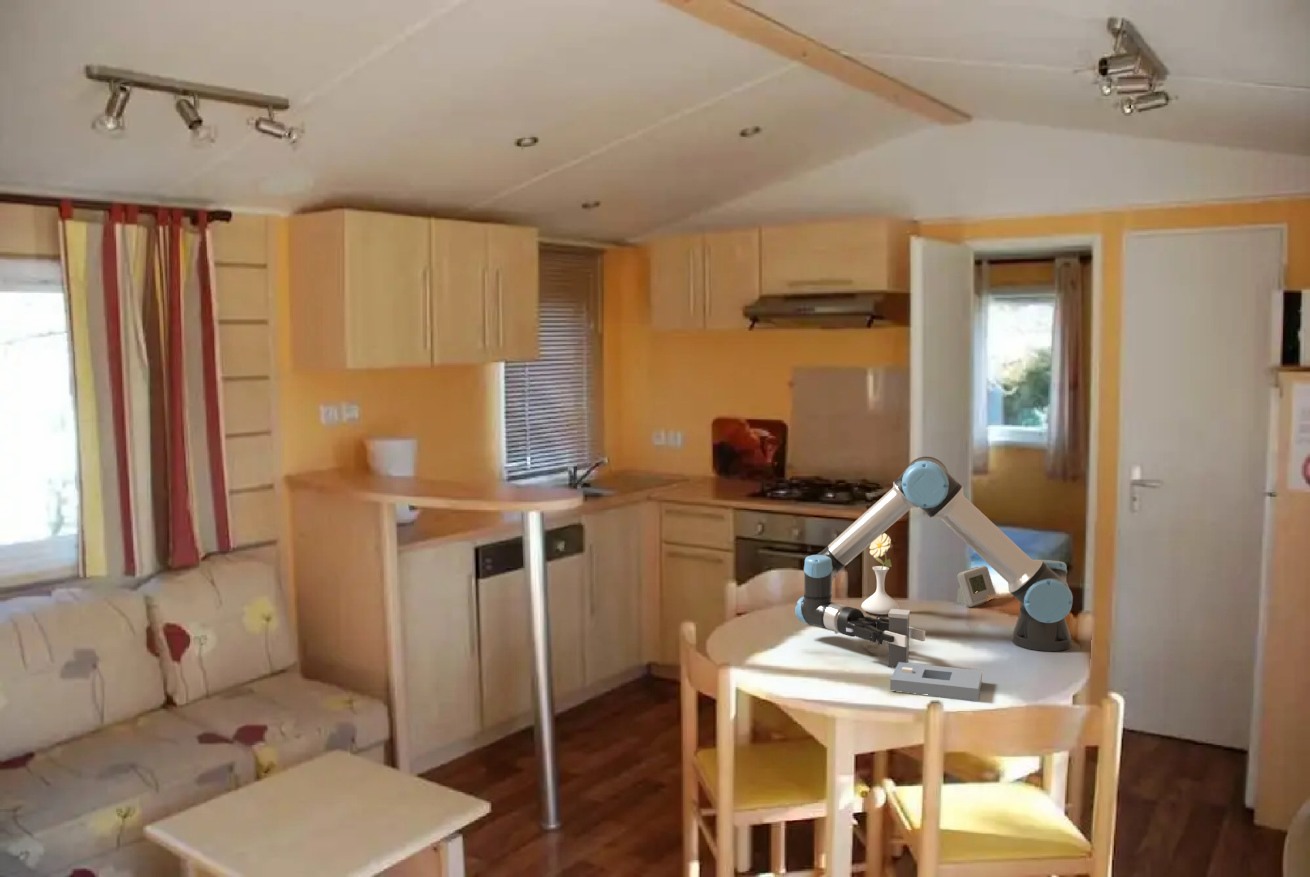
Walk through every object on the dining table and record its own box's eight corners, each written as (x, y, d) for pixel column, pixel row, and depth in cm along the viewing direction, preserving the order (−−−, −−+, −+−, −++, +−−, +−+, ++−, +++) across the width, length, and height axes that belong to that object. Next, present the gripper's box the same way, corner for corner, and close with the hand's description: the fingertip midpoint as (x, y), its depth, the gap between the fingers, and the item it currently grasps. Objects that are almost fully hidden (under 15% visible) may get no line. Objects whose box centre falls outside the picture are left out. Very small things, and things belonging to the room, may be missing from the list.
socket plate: (981, 682, 260) (982, 667, 260) (977, 701, 247) (978, 685, 247) (898, 673, 267) (898, 659, 267) (890, 691, 254) (890, 676, 254)
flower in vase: (856, 608, 330) (857, 528, 327) (892, 607, 331) (893, 527, 329) (869, 619, 317) (870, 536, 314) (906, 618, 318) (908, 535, 316)
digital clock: (968, 609, 328) (969, 575, 327) (946, 603, 336) (947, 569, 335) (1004, 601, 337) (1005, 568, 336) (981, 595, 344) (982, 563, 343)
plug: (909, 663, 276) (910, 610, 274) (906, 669, 271) (907, 614, 270) (890, 661, 277) (891, 608, 276) (887, 667, 273) (888, 613, 271)
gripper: (868, 627, 294) (938, 645, 276) (819, 640, 281) (889, 661, 264) (868, 600, 293) (939, 617, 275) (820, 612, 281) (890, 631, 263)
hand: (914, 638), depth 270 cm, fingers open, 7 cm apart
